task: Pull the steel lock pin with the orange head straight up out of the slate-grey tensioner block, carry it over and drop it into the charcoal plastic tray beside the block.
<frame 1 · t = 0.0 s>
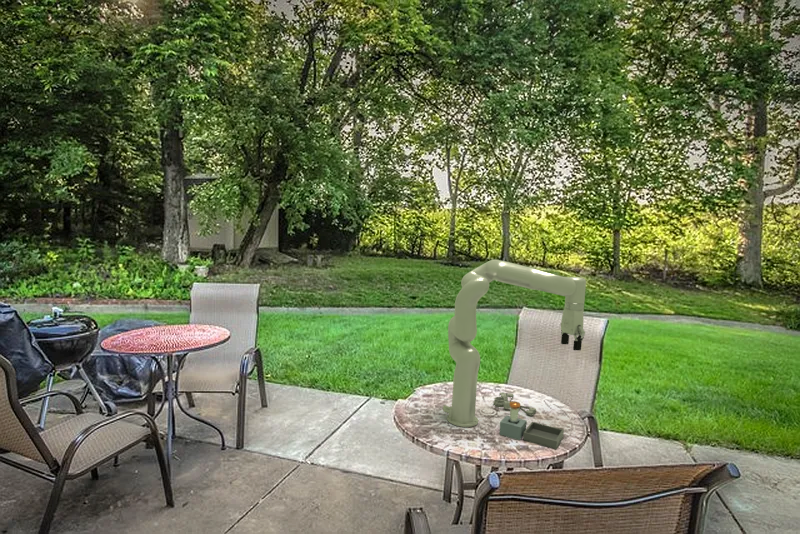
hand: (570, 347, 194), 31 cm above the table, tool pointing down, fingers open, 9 cm apart
parts tray: (543, 438, 176), on the table
pulley system: (508, 406, 209), on the table
lock pin: (513, 418, 179), in the tensioner block
tensioner block: (512, 433, 179), on the table
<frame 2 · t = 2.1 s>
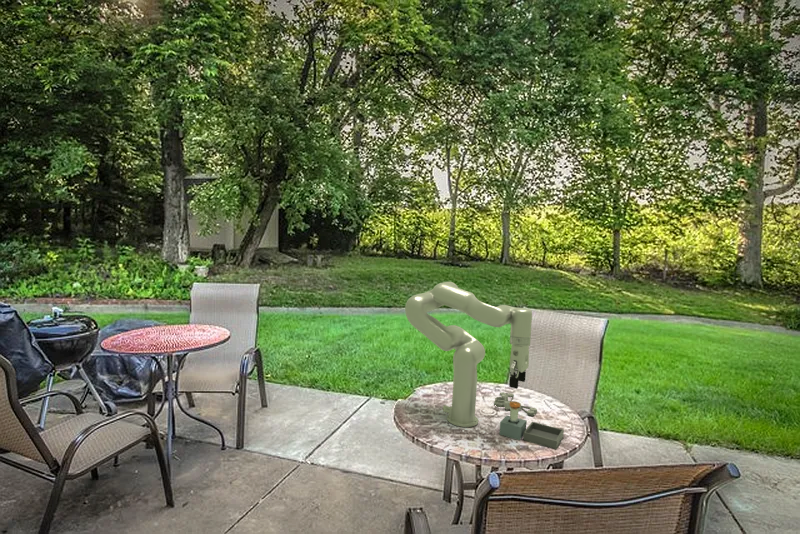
hand: (517, 384, 177), 20 cm above the table, tool pointing down, fingers open, 9 cm apart
nothing on the table moved.
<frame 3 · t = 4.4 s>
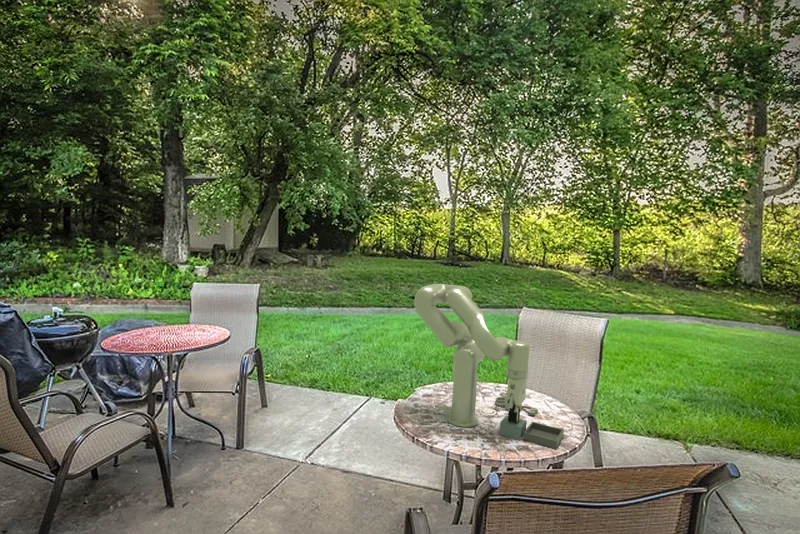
hand: (513, 419, 179), 6 cm above the table, tool pointing down, fingers closed on lock pin, 3 cm apart
lock pin: (513, 418, 179), in the tensioner block, touching gripper
everything else where it was.
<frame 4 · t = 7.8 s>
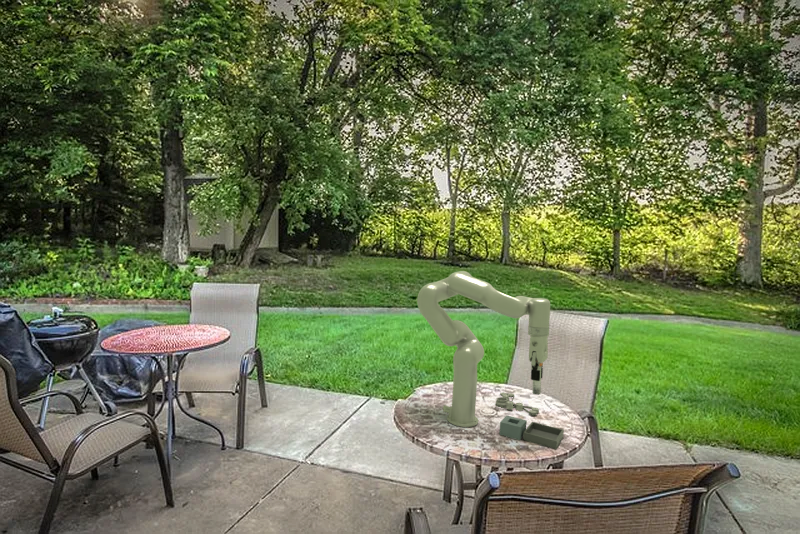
hand: (536, 378, 175), 23 cm above the table, tool pointing down, fingers closed on lock pin, 3 cm apart
lock pin: (536, 377, 175), point 23 cm above the table, touching gripper
everything else where it was.
when the fingers open (9 cm above the table, at t = 11.3 s): lock pin drops 2 cm, resting on parts tray.
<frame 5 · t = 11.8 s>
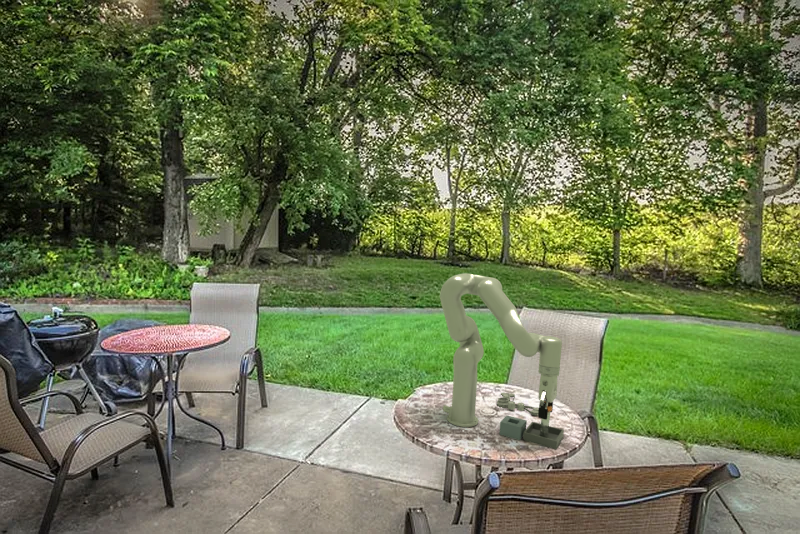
hand: (545, 414, 175), 9 cm above the table, tool pointing down, fingers open, 8 cm apart
lock pin: (545, 421, 176), in the parts tray, point 7 cm above the table
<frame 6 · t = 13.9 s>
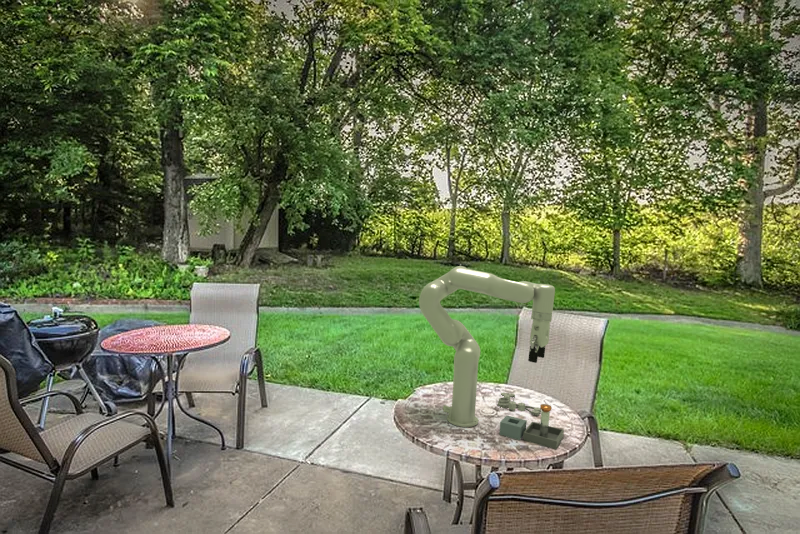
hand: (536, 359, 180), 29 cm above the table, tool pointing down, fingers open, 9 cm apart
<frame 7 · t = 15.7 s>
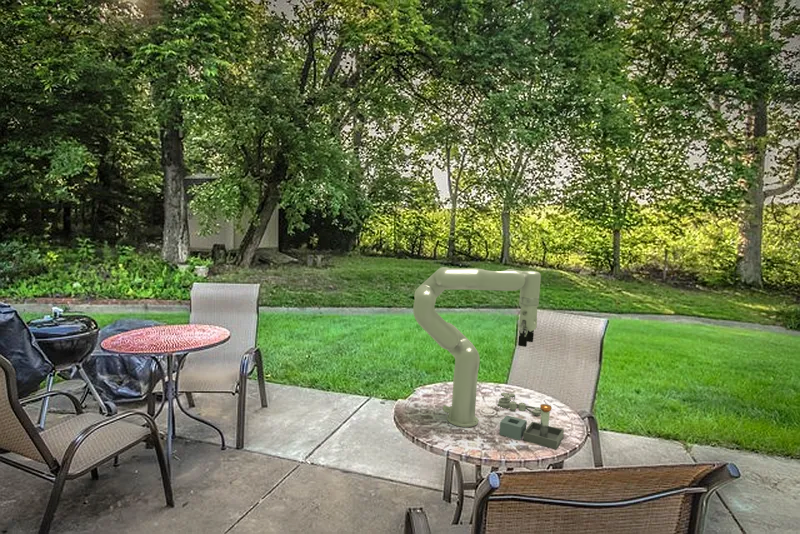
hand: (525, 343, 186), 33 cm above the table, tool pointing down, fingers open, 9 cm apart
at the end: lock pin inside the target area on the parts tray (0.0 cm from its centre), point 6.7 cm above the parts tray's base; lock pin moved 11.4 cm from its start; the gripper is holding nothing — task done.
